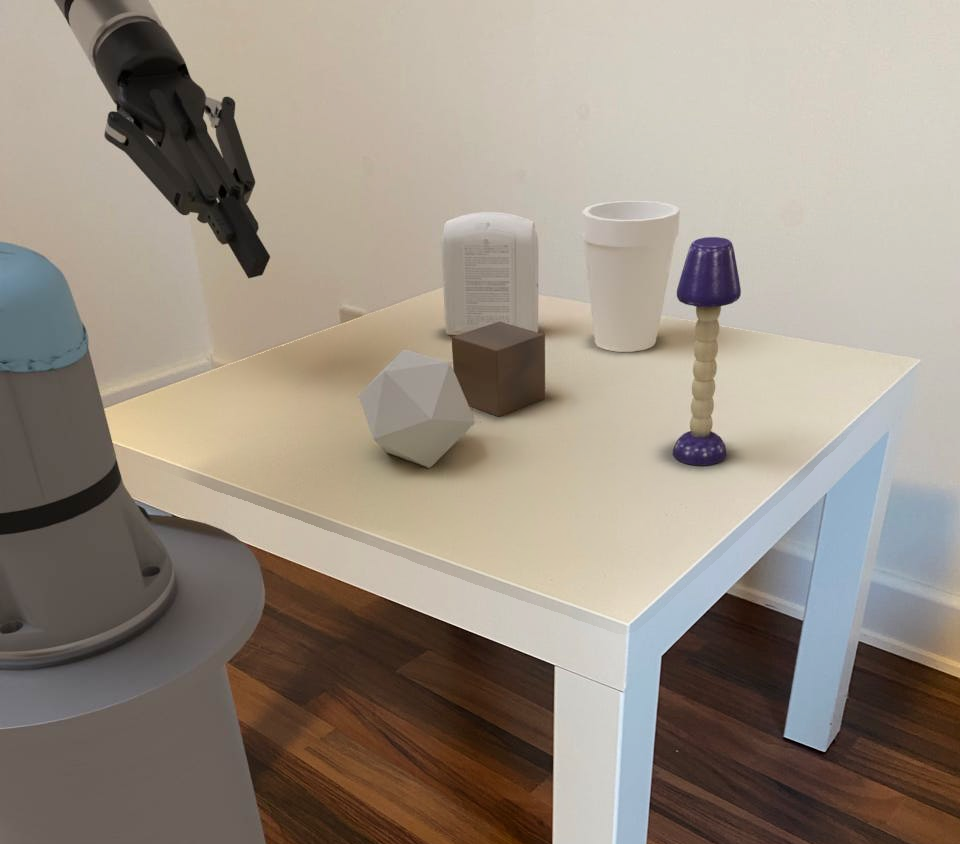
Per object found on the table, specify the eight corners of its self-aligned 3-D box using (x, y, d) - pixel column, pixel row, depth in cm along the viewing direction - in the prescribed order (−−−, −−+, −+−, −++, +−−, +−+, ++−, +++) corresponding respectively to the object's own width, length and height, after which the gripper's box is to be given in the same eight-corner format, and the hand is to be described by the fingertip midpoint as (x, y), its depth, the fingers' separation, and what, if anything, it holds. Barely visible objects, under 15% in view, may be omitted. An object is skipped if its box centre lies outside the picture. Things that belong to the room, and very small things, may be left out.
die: (497, 459, 85) (471, 344, 85) (453, 446, 76) (425, 318, 77) (408, 486, 88) (384, 375, 88) (357, 477, 80) (331, 354, 80)
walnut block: (498, 416, 91) (496, 351, 87) (454, 400, 94) (451, 336, 91) (545, 398, 94) (545, 334, 90) (501, 383, 98) (499, 321, 94)
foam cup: (689, 344, 105) (699, 211, 97) (618, 363, 101) (623, 226, 93) (631, 322, 111) (636, 196, 104) (562, 339, 108) (563, 209, 100)
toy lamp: (711, 472, 79) (732, 251, 70) (656, 461, 81) (669, 244, 72) (733, 450, 83) (756, 235, 73) (680, 439, 85) (696, 230, 75)
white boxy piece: (541, 327, 111) (540, 207, 104) (536, 339, 108) (535, 217, 101) (449, 326, 113) (442, 208, 106) (442, 338, 109) (435, 217, 103)
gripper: (67, 21, 86) (205, 256, 85) (202, 11, 93) (331, 227, 92) (58, 89, 92) (186, 308, 91) (185, 74, 99) (306, 277, 98)
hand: (259, 267), depth 91 cm, fingers closed
